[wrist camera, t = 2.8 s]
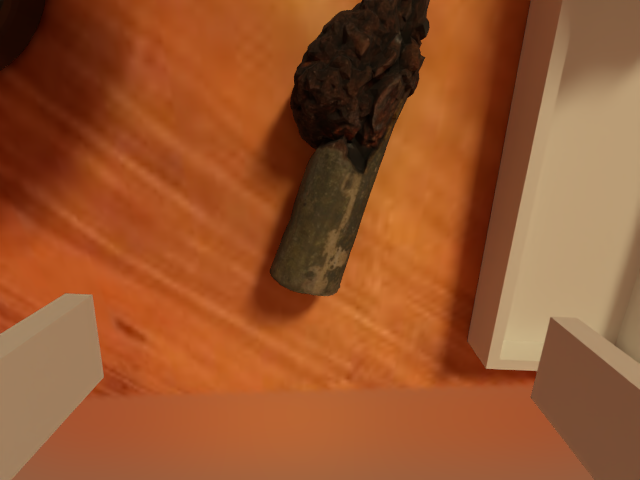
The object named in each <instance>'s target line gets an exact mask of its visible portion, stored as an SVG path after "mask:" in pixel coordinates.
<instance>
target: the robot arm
mask: <svg viewBox="0 0 640 480" xmlns="http://www.w3.org/2000/svg"><path fill="white" fill-rule="evenodd" d="M44 4H45V0H0V70H1V69H3V68H5V67H6V66H7V65H9V64H10V63H11V62H12V61H13V60H15V59H16V58H17V57H18V56H19V55H20V53H21V52H22V51H23V50H24V49H25V47H26V46H27V45H28V43H29V42H30V40H31V38H32V37H33V35H34V33H35V31H36V29H37V26H38V24H39V22H40V19H41V16H42V12H43V8H44ZM103 377H104V375H103V368H102V360H101V353H100V346H99V339H98V332H97V325H96V317H95V310H94V303H93V296H92V295H87V294H64V295H62V296H61V297H59V298H57V299H56V300H54V301H53V302H51V303H49V304H48V305H46V306H45V307H43V308H41V309H40V310H38V311H37V312H35V313H33V314H32V315H30V316H29V317H27V318H25V319H24V320H22V321H21V322H19V323H17V324H16V325H14V326H13V327H11V328H9V329H8V330H6V331H5V332H3V333H1V334H0V480H12V478H13V477H14V476H15V475H16V474H17V473H18V472H19V470H21V468H22V467H23V466H24V465H25V464H26V463H27V462H28V461H29V460H30V458H31V457H32V456H33V455H34V454H35V453H36V451H38V449H39V448H40V447H41V446H42V445H43V444H44V443H45V442H46V441H47V439H48V438H49V437H50V436H51V435H52V434H53V433H54V432H55V431H56V430H57V428H58V427H59V426H60V425H61V424H62V423H63V422H64V421H65V420H66V418H67V417H68V416H69V415H70V414H71V413H72V412H73V411H74V409H76V407H77V406H78V405H79V404H80V403H81V402H82V401H83V400H84V399H85V397H86V396H87V395H88V394H89V393H90V392H91V391H92V390H93V389H94V387H95V386H96V385H97V384H98V383H99V382H100V381H101V380H102V379H103ZM531 399H532V400H533V401H534V402H535V404H536V405H537V406H538V408H539V409H540V410H541V411H542V413H543V414H544V415H545V417H546V418H547V419H548V420H549V422H550V423H551V424H552V426H553V427H554V428H555V429H556V431H557V432H558V433H559V434H560V436H561V437H562V439H564V441H565V442H566V443H567V445H568V446H569V448H570V449H571V450H572V451H573V453H574V454H575V455H576V457H577V458H578V459H579V460H580V462H581V463H582V464H583V466H584V467H585V468H586V469H587V471H588V472H589V473H590V474H591V476H592V477H593V478H594V480H640V364H639V363H638V362H636V361H635V360H634V359H632V358H631V357H630V356H628V355H627V354H626V353H624V352H623V351H621V350H620V349H619V348H617V347H616V346H615V345H613V344H612V343H611V342H609V341H608V340H607V339H605V338H604V337H602V336H601V335H600V334H598V333H597V332H596V331H594V330H593V329H592V328H590V327H589V326H587V325H586V324H585V323H583V322H582V321H581V320H579V319H578V318H567V317H550V321H549V325H548V329H547V333H546V337H545V341H544V345H543V349H542V353H541V357H540V362H539V366H538V370H537V374H536V378H535V382H534V386H533V390H532V394H531Z"/></svg>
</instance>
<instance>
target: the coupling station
mask: <svg viewBox="0 0 640 480" xmlns="http://www.w3.org/2000/svg"><path fill="white" fill-rule="evenodd" d="M550 317H567V318H578V319H579V320H581V321H582V322H583V323H585V324H586V325H587V326H589V327H590V328H592V329H593V330H594V331H596V332H597V333H598V334H600V335H601V336H602V337H604V338H605V339H607V340H608V341H609V342H611V343H612V344H613V345H615V346H616V347H617V348H619V349H620V350H621V351H623V352H624V353H626V354H627V355H628V356H630V357H631V358H632V359H634V360H635V361H636V362H638V363H639V364H640V0H531V1H530V7H529V12H528V17H527V23H526V28H525V34H524V39H523V44H522V50H521V55H520V60H519V66H518V71H517V77H516V82H515V87H514V93H513V98H512V103H511V109H510V114H509V119H508V125H507V130H506V136H505V141H504V146H503V152H502V157H501V162H500V168H499V173H498V179H497V184H496V189H495V195H494V200H493V205H492V211H491V216H490V221H489V227H488V232H487V238H486V243H485V248H484V254H483V259H482V264H481V270H480V275H479V281H478V286H477V291H476V297H475V302H474V307H473V313H472V318H471V324H470V329H469V334H468V340H467V341H468V343H469V344H470V346H471V347H472V349H473V350H474V352H475V353H476V355H477V356H478V358H479V359H480V361H481V362H482V364H483V365H484V367H485V368H486V369H504V370H527V371H537V370H538V366H539V362H540V357H541V353H542V349H543V345H544V341H545V337H546V333H547V329H548V325H549V321H550Z"/></svg>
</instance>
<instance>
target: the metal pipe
mask: <svg viewBox="0 0 640 480" xmlns="http://www.w3.org/2000/svg"><path fill="white" fill-rule="evenodd" d="M429 2H430V0H362V2H361V3H358V4H357V5H356V6H355V7H354V8H353V9H352V10H346V11H341V12H339V13H338V14H337V15H336V16H334V17H333V18H332V19H331V21H330V22H328V23H327V24H326V25H324V27H323V30H322V32H321V33H320V35H319V36H318V37H317V39H316V40H315V41H313V42H312V43H311V44H310V45H309V46H308V50H307V51H306V53H305V54H304V56H303V59H302V62H301V64H300V65H299V66H298V67H297V70H296V72H295V75H294V84H295V85H294V88H293V90H292V95H291V102H290V105H291V109H292V111H293V116H294V120H295V122H296V123H297V126H298V129H299V133H300V136H301V138H302V139H303V140H305V141H306V142H307V143H308V144H309V145H310V146H312V147H313V148H315V149H316V151H315V153H314V154H313V155H312V157H311V158H310V160H309V162H308V164H307V167H306V170H305V173H304V176H303V179H302V182H301V185H300V188H299V191H298V194H297V197H296V200H295V203H294V206H293V210H292V214H291V218H290V221H289V223H288V225H287V227H286V230H285V232H284V234H283V237H282V240H281V243H280V245H279V248H278V250H277V253H276V256H275V258H274V261H273V263H272V266H271V269H270V274H271V276H272V277H273V278H274V279H275V280H276V281H277V282H278V283H279V284H280V285H282V286H284V287H285V288H287V289H289V290H292V291H295V292H298V293H305V294H311V295H317V296H330V295H333V294H335V293H336V292H337V291H338V289H339V288H340V283H341V280H342V276H343V273H344V270H345V267H346V264H347V261H348V258H349V255H350V252H351V249H352V246H353V244H354V241H355V238H356V235H357V232H358V229H359V226H360V222H361V219H362V216H363V213H364V210H365V207H366V204H367V201H368V198H369V195H370V193H371V190H372V187H373V184H374V181H375V179H376V176H377V173H378V170H379V167H380V164H381V161H382V159H383V156H384V153H385V150H386V147H387V144H388V141H389V138H390V136H391V133H392V131H393V128H394V125H395V123H396V121H397V119H398V117H399V115H400V113H401V110H402V108H403V106H404V104H405V102H406V100H407V98H408V97H409V96H411V95H412V94H413V93H414V91H415V89H416V87H417V84H418V81H419V73H418V72H419V70H420V68H421V66H422V63H423V61H424V59H425V57H423V56H422V55H421V54H420V53H421V52H420V49H419V48H420V46H421V44H422V43H421V40H422V39H424V38H425V37H426V36H427V33H428V31H429V21H428V19H427V18H426V16H427V8H428V5H429Z"/></svg>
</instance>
